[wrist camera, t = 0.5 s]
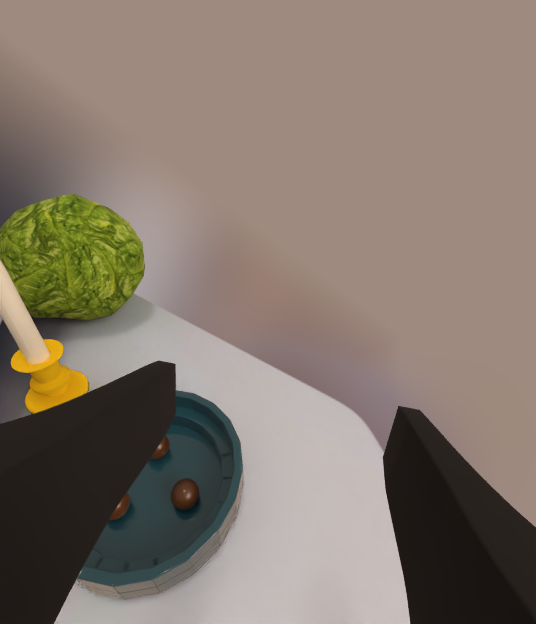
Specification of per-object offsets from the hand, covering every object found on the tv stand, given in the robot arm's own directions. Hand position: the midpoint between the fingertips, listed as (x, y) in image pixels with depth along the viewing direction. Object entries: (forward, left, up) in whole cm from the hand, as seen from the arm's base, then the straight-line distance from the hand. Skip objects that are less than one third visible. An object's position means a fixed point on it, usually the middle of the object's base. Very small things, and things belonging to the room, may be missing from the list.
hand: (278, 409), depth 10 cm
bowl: (+6, +7, -18) cm, 20 cm away
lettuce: (+36, +24, -11) cm, 45 cm away
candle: (+16, +17, -18) cm, 30 cm away
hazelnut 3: (+5, +5, -16) cm, 18 cm away
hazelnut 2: (+9, +7, -16) cm, 20 cm away
